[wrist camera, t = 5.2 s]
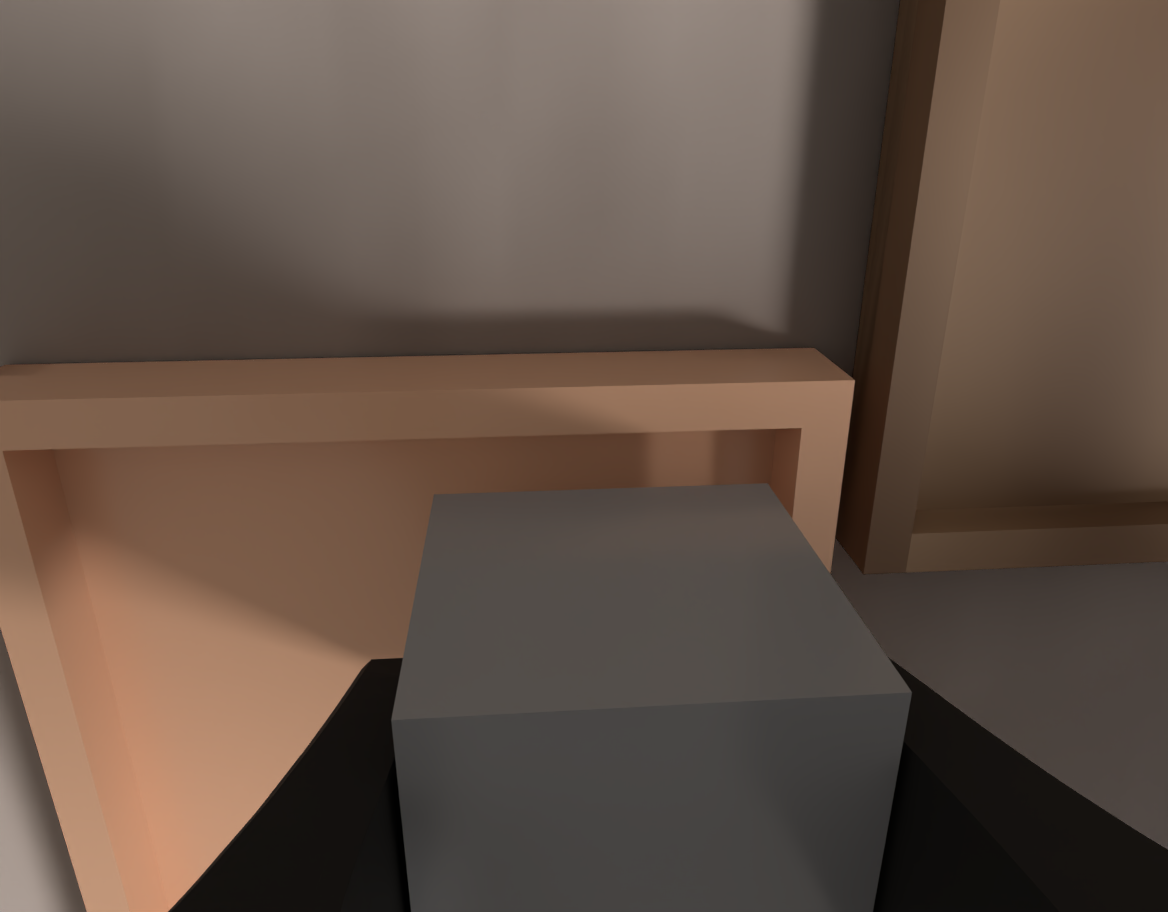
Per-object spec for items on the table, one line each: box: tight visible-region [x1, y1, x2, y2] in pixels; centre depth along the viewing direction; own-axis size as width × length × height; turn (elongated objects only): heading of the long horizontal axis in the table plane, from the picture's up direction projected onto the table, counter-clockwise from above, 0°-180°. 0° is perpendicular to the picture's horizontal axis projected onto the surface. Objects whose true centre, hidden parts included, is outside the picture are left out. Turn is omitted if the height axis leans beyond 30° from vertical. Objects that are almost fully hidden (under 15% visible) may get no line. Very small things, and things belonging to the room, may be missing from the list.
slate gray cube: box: [391, 483, 912, 912], centre depth 9 cm, size 4×4×4 cm
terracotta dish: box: [0, 348, 855, 912], centre depth 13 cm, size 11×11×2 cm
